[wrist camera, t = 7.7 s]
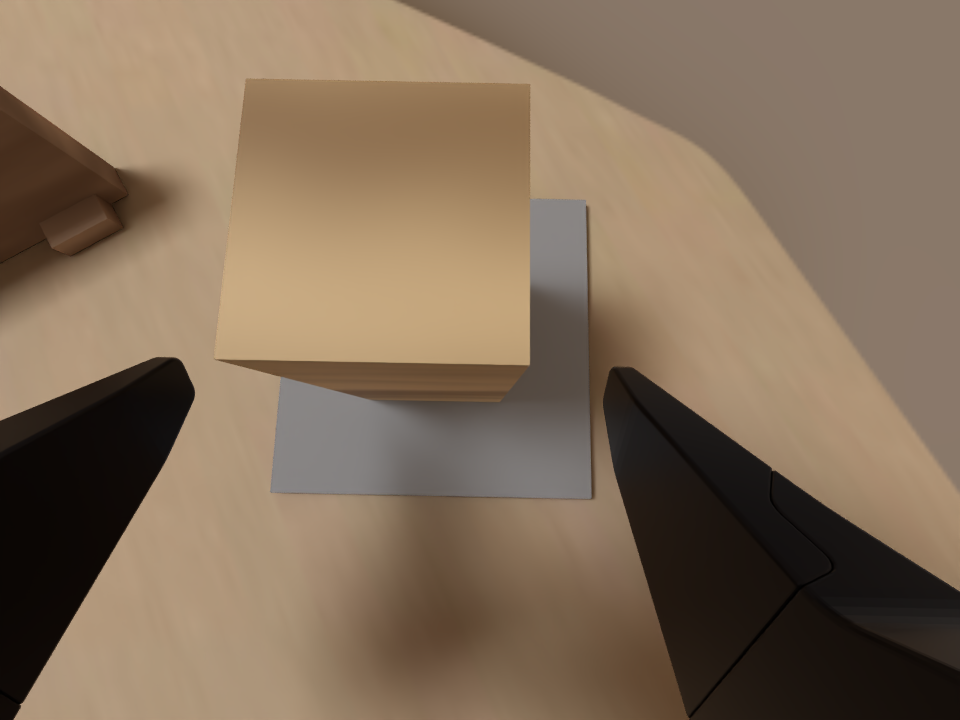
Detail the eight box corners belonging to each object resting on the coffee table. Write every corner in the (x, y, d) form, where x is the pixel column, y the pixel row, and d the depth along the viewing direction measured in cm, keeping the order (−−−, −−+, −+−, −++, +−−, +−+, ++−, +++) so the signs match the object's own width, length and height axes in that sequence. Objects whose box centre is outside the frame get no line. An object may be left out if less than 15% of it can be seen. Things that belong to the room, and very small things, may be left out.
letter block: (499, 402, 17) (529, 365, 7) (370, 399, 17) (213, 359, 7) (501, 275, 18) (529, 77, 8) (377, 272, 18) (246, 72, 8)
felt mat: (588, 497, 17) (591, 498, 16) (274, 491, 17) (270, 492, 16) (583, 204, 18) (585, 200, 18) (301, 198, 18) (297, 194, 18)
